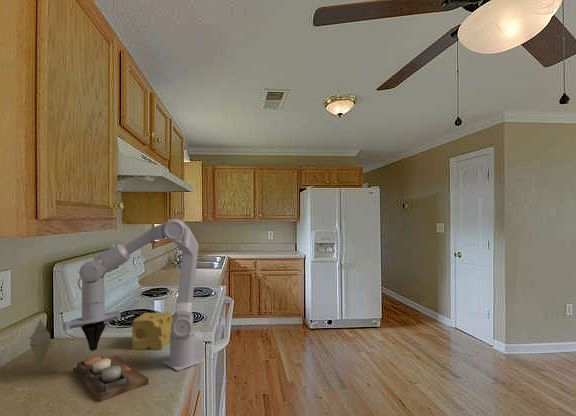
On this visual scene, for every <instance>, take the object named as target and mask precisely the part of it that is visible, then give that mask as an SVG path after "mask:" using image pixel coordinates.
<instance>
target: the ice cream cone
mask: <svg viewBox="0 0 576 416" xmlns="http://www.w3.org/2000/svg"><path fill="white" fill-rule="evenodd" d="M29 339H30V341H29V342H30V343H29V346H30V348H31V351H32V354H33V357H34V360H35V362H36V365H37V369H38V371H39V372H41V371H42V368H43V365H44V363H45V359H46V356H47V352H48V350H49V346H50V343H51V342H52V341H51V334H50V332H49V331H48V330H47V326H45V325H44V322H43V321H42V319H41V318H40V319H39V321H38V323H37V325H36V327H35V328H34V332H33V333H32V334H31V336H30V337H29Z"/></svg>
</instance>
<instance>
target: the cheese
mask: <svg viewBox="0 0 576 416" xmlns="http://www.w3.org/2000/svg"><path fill="white" fill-rule="evenodd" d="M172 322H173V313H172V311H171V312H170V311H169V312H168V311H167V312H144V313H142V314H141V315H139V316H138V317H137V318H136V319H133V320H132V325H131V326H132V335H131V336H132V337H131V338H132V350H147V349H150V350H158V351H160V350H161V351H162V350H163V349H164V347H165V346H166V345H167V344H168V343H170V333H171V332H172V331H171V324H172Z"/></svg>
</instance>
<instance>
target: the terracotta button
mask: <svg viewBox="0 0 576 416" xmlns="http://www.w3.org/2000/svg"><path fill="white" fill-rule="evenodd" d="M101 356H102V355H93V356H89V357H86V358H84V360H83V361H84V366H85V367H86V368H87V367H91V366H93V362H94V361H96V360H99V359H102V357H103V356H102V357H101Z"/></svg>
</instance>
